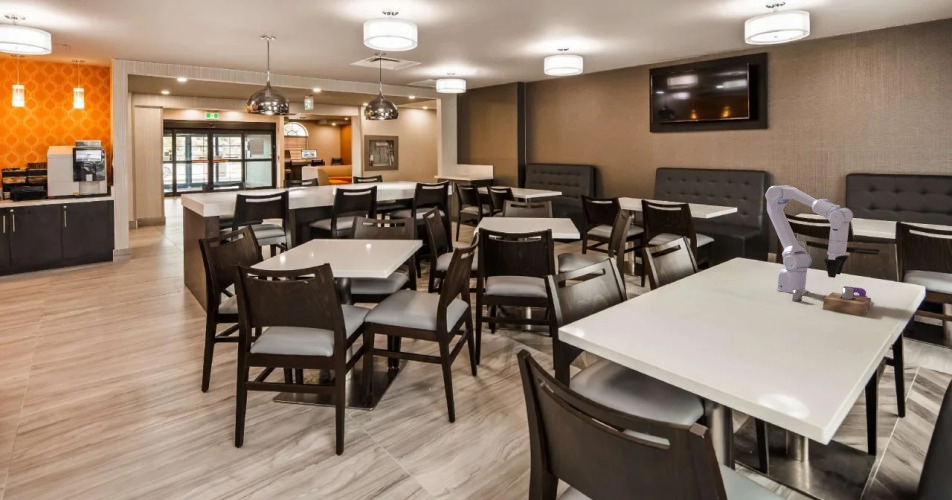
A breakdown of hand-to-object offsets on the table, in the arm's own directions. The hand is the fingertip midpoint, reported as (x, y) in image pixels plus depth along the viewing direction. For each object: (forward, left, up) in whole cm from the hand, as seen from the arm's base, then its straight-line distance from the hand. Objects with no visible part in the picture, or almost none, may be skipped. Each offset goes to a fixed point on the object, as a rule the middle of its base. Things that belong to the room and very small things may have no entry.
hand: (834, 275), depth 210 cm
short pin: (-9, -11, -9) cm, 17 cm away
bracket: (+7, +2, -10) cm, 12 cm away
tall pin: (+7, -11, -9) cm, 16 cm away
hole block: (+7, -11, -9) cm, 16 cm away
